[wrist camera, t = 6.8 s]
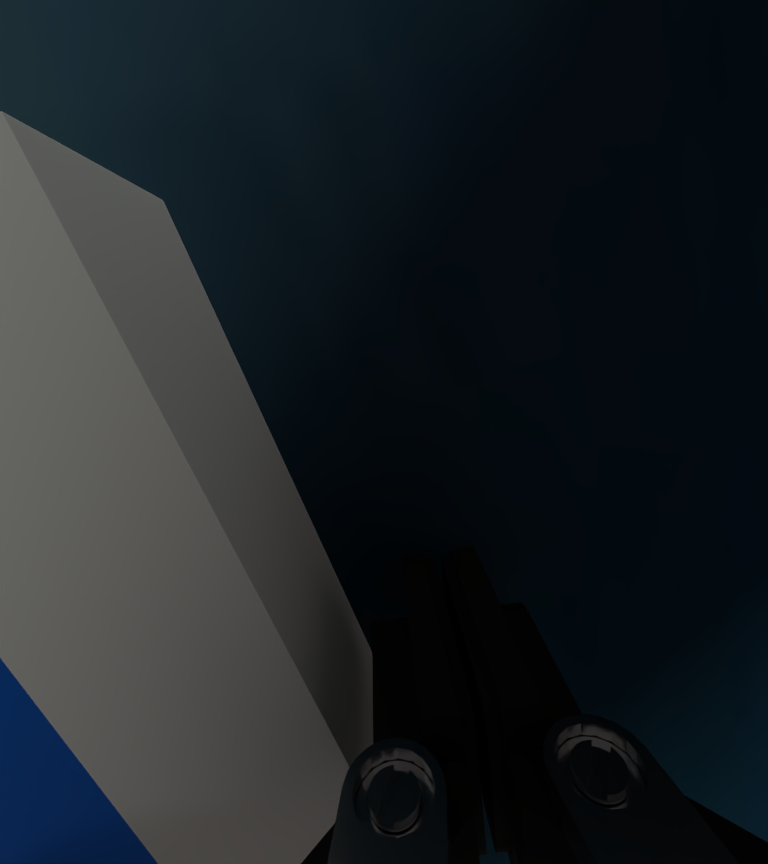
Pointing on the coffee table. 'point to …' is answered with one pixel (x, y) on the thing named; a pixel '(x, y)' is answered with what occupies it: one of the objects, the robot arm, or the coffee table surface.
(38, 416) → the pixel art tile
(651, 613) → the coffee table surface
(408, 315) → the coffee table surface
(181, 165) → the coffee table surface
